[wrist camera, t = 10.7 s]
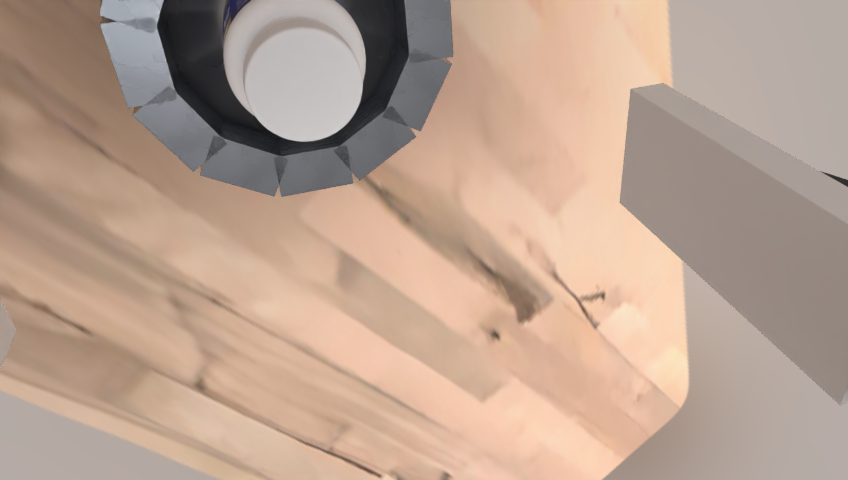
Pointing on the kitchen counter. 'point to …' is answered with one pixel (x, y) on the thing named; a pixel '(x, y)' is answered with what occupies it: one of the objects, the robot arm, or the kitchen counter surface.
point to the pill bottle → (294, 64)
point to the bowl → (240, 130)
